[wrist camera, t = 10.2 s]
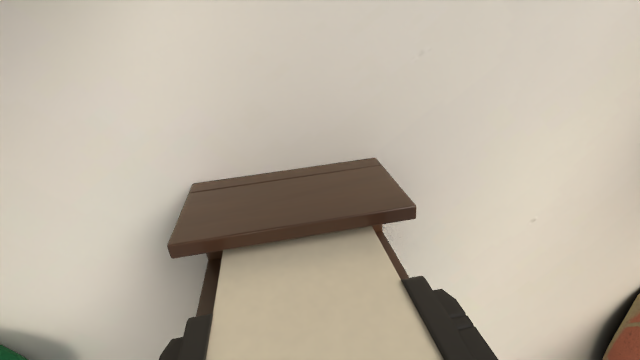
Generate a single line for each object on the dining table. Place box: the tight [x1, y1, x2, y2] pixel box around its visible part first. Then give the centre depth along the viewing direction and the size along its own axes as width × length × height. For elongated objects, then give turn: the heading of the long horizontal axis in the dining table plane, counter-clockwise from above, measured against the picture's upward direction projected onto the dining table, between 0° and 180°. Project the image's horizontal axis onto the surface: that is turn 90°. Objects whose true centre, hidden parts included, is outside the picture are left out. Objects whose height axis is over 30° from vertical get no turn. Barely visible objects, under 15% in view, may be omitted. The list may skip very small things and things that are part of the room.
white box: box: [206, 226, 444, 360], centre depth 11 cm, size 2×6×10 cm, turn 95°
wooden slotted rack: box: [167, 158, 416, 317], centre depth 14 cm, size 12×9×10 cm
